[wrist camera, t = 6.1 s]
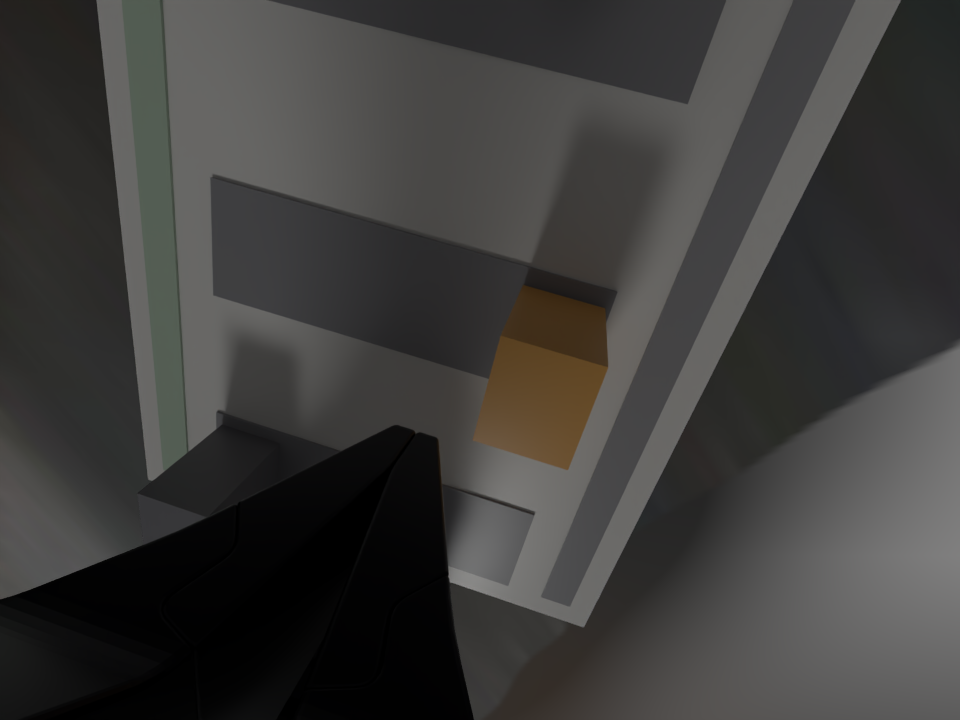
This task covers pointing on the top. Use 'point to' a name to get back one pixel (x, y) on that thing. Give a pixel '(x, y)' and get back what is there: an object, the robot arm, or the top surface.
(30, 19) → the top surface
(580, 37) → the panel
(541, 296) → the orange block
